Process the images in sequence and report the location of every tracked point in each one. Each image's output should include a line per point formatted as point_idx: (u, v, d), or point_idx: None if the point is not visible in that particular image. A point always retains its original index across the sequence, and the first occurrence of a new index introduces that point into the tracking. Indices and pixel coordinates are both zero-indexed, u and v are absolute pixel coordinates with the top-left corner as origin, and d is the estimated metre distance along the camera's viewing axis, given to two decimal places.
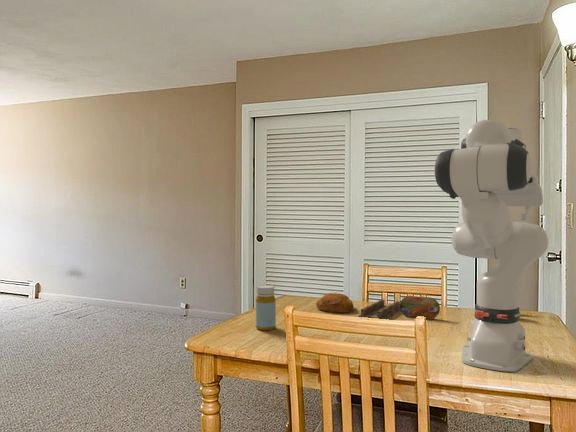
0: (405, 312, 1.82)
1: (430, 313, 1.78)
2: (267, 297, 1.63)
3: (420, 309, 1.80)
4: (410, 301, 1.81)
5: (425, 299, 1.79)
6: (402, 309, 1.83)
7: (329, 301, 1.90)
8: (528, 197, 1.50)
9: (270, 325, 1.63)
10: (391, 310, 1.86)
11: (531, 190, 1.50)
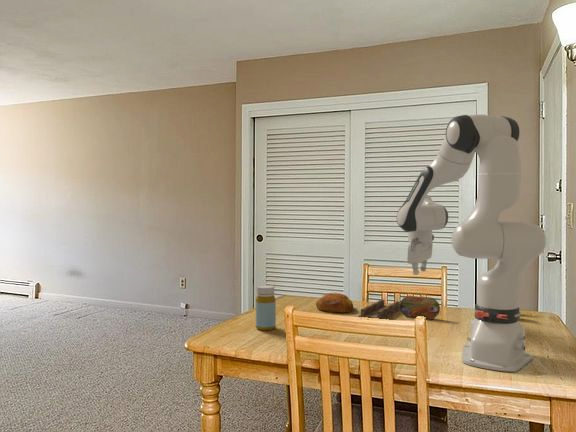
0: (405, 312, 1.82)
1: (430, 313, 1.78)
2: (267, 297, 1.63)
3: (419, 309, 1.80)
4: (410, 301, 1.81)
5: (425, 299, 1.79)
6: (402, 309, 1.83)
7: (328, 301, 1.90)
8: (429, 251, 1.84)
9: (270, 325, 1.63)
10: (391, 310, 1.86)
11: (429, 245, 1.85)
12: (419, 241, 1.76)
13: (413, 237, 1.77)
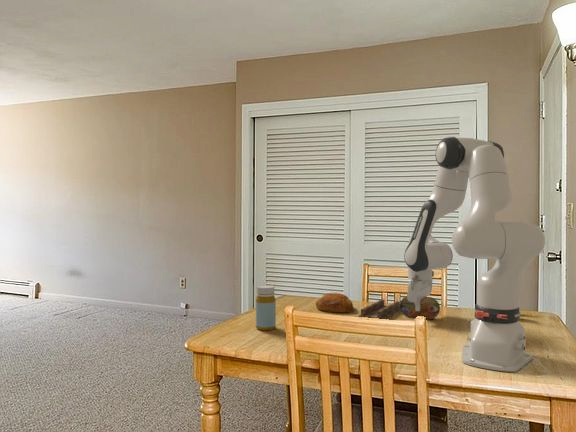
0: (405, 312, 1.82)
1: (430, 313, 1.78)
2: (267, 297, 1.63)
3: None
4: None
5: (425, 299, 1.79)
6: (402, 309, 1.83)
7: (328, 301, 1.90)
8: (429, 287, 1.85)
9: (270, 325, 1.63)
10: (391, 310, 1.86)
11: (429, 281, 1.85)
12: (419, 279, 1.76)
13: (413, 274, 1.77)
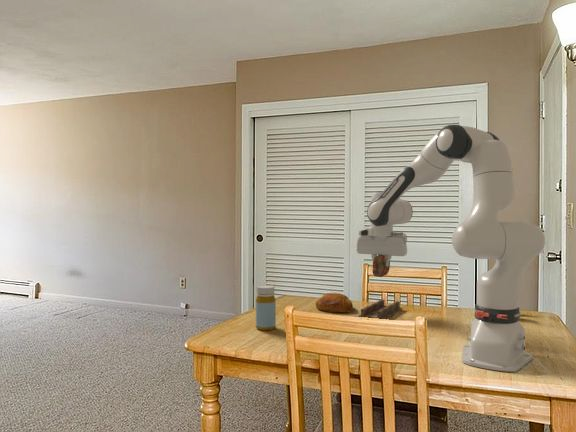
0: (379, 272, 1.82)
1: (386, 268, 1.90)
2: (267, 297, 1.63)
3: (383, 267, 1.86)
4: (380, 261, 1.83)
5: (385, 256, 1.88)
6: (378, 270, 1.80)
7: (328, 301, 1.90)
8: None
9: (270, 325, 1.63)
10: (391, 310, 1.86)
11: None
12: None
13: (390, 231, 1.83)
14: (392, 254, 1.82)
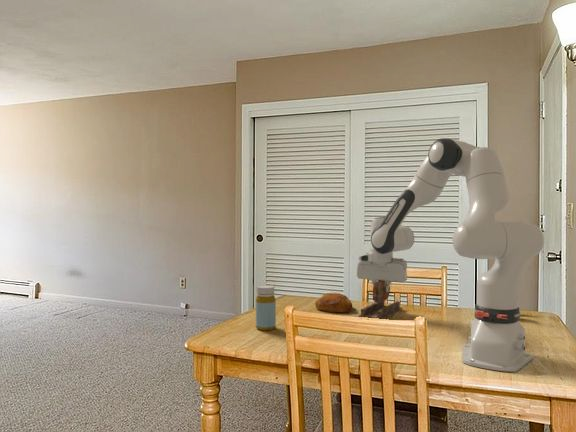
0: (379, 298, 1.82)
1: (386, 293, 1.90)
2: (267, 297, 1.63)
3: (383, 292, 1.87)
4: (380, 287, 1.83)
5: (385, 281, 1.88)
6: (378, 297, 1.81)
7: (327, 301, 1.90)
8: None
9: (270, 325, 1.63)
10: (391, 310, 1.86)
11: None
12: None
13: (390, 257, 1.83)
14: (392, 280, 1.82)
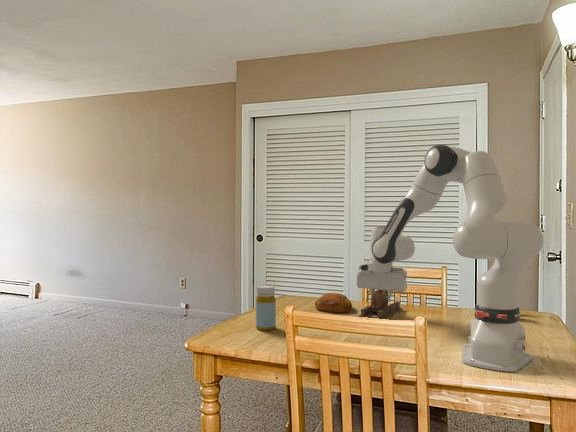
0: (377, 309, 1.82)
1: (385, 303, 1.90)
2: (267, 297, 1.63)
3: (381, 303, 1.87)
4: (378, 297, 1.84)
5: (383, 291, 1.89)
6: (376, 307, 1.81)
7: (327, 301, 1.90)
8: None
9: (270, 325, 1.63)
10: (391, 310, 1.86)
11: None
12: None
13: (390, 267, 1.83)
14: (392, 290, 1.82)
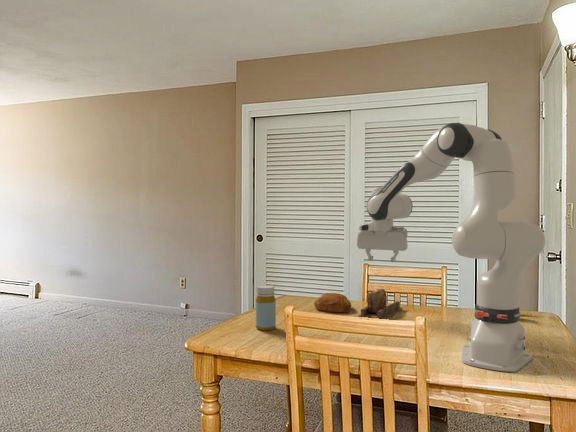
0: (374, 309, 1.83)
1: (383, 303, 1.91)
2: (267, 297, 1.63)
3: (379, 302, 1.87)
4: (375, 297, 1.84)
5: (380, 291, 1.89)
6: (373, 307, 1.82)
7: (326, 301, 1.90)
8: None
9: (270, 325, 1.63)
10: (391, 310, 1.86)
11: None
12: None
13: (390, 226, 1.83)
14: (393, 249, 1.82)
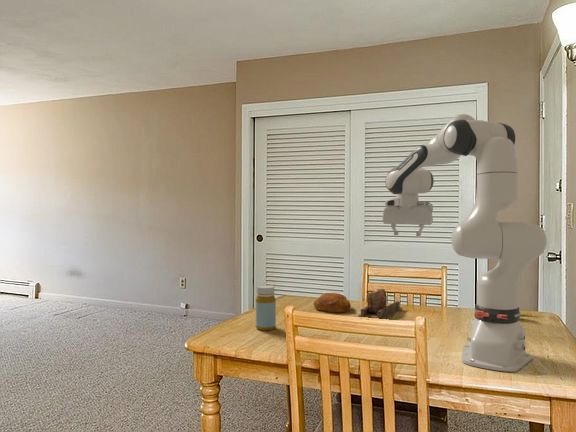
0: (374, 309, 1.83)
1: (383, 303, 1.91)
2: (267, 297, 1.63)
3: (379, 302, 1.87)
4: (375, 297, 1.84)
5: (380, 291, 1.89)
6: (373, 307, 1.82)
7: (326, 301, 1.90)
8: None
9: (270, 325, 1.63)
10: (391, 310, 1.86)
11: None
12: None
13: (416, 201, 1.88)
14: (418, 223, 1.87)
